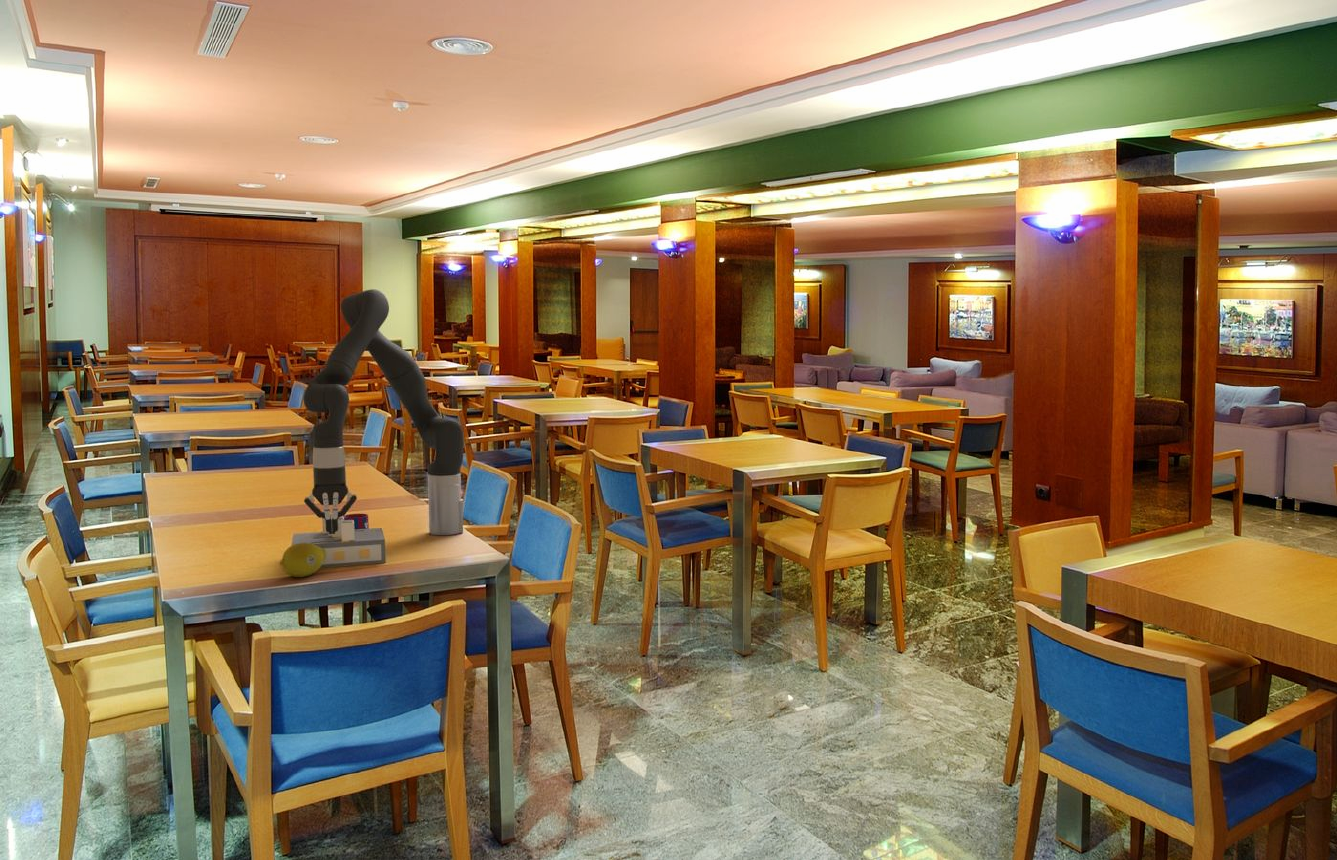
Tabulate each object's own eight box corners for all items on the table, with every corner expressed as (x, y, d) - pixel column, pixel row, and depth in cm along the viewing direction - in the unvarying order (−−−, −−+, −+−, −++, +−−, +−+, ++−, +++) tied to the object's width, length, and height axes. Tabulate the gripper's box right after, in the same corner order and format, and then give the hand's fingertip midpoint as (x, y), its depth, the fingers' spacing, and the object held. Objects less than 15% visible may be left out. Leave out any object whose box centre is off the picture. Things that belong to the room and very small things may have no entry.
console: (382, 550, 260) (381, 527, 260) (385, 563, 246) (385, 539, 245) (294, 556, 253) (293, 533, 252) (292, 570, 238) (291, 545, 238)
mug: (360, 542, 269) (359, 518, 268) (328, 540, 272) (327, 516, 271) (373, 537, 275) (372, 514, 275) (343, 535, 278) (342, 512, 278)
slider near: (354, 537, 246) (353, 519, 246) (354, 540, 244) (354, 521, 243) (341, 538, 245) (341, 520, 245) (342, 541, 243) (341, 522, 242)
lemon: (284, 583, 227) (283, 549, 226) (276, 576, 233) (274, 543, 232) (331, 576, 233) (330, 543, 232) (322, 569, 239) (321, 537, 238)
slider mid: (344, 534, 251) (343, 516, 250) (344, 536, 248) (344, 518, 247) (332, 535, 250) (331, 516, 249) (332, 537, 247) (331, 519, 246)
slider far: (335, 530, 255) (334, 512, 255) (335, 532, 252) (334, 515, 252) (322, 531, 254) (322, 513, 254) (322, 533, 251) (322, 515, 251)
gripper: (356, 461, 247) (359, 528, 249) (301, 464, 243) (304, 532, 244) (357, 465, 240) (360, 534, 242) (300, 468, 235) (303, 538, 237)
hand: (332, 533), depth 243 cm, fingers closed
